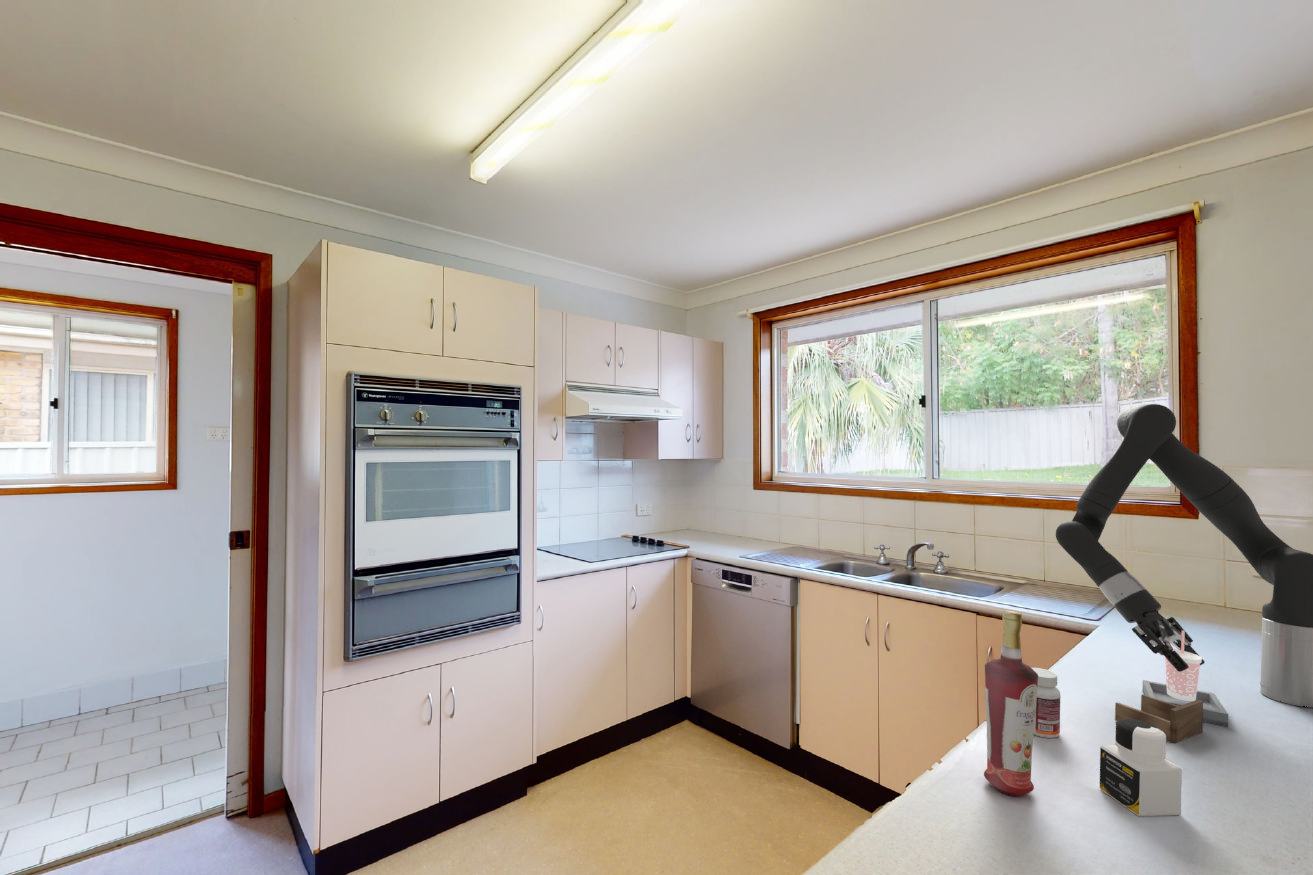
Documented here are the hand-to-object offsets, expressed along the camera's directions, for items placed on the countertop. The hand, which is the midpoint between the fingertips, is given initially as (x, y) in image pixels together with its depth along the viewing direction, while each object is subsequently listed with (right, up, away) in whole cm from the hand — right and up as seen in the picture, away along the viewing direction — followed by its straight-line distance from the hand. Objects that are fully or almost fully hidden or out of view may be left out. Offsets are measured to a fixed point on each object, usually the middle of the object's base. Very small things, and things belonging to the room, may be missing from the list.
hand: (1192, 667), depth 124 cm
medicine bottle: (-38, -8, -33) cm, 51 cm away
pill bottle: (-39, -8, -11) cm, 41 cm away
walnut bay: (-14, -9, -7) cm, 18 cm away
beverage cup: (-1, -7, +2) cm, 7 cm away
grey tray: (-1, -9, +1) cm, 9 cm away
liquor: (-57, -8, -30) cm, 65 cm away
